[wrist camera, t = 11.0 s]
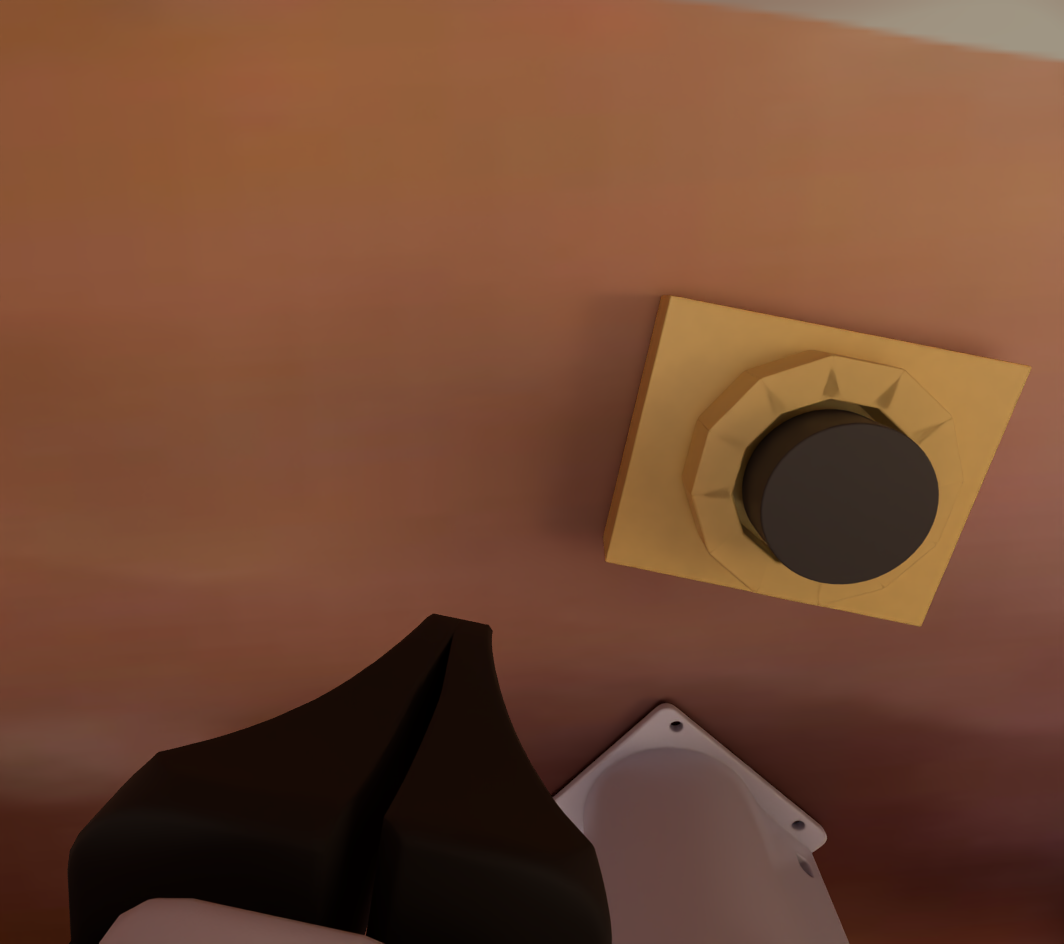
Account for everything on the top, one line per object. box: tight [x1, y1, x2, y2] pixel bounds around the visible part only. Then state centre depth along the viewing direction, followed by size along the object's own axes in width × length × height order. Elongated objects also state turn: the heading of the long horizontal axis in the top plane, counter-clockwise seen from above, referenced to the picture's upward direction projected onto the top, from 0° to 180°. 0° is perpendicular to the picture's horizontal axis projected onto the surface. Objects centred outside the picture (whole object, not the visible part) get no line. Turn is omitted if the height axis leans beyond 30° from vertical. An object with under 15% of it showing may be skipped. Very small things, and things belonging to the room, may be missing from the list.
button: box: [742, 409, 939, 585], centre depth 17 cm, size 5×5×2 cm
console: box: [603, 295, 1031, 626], centre depth 20 cm, size 11×9×4 cm
